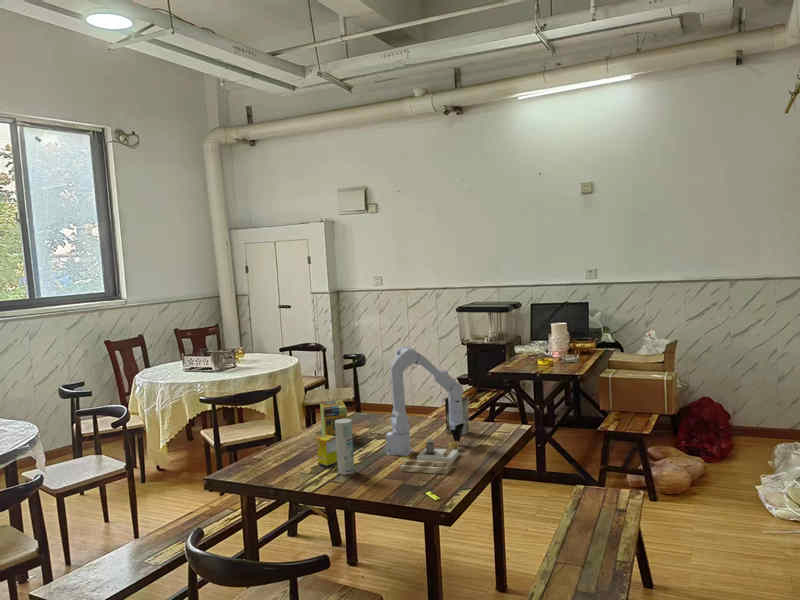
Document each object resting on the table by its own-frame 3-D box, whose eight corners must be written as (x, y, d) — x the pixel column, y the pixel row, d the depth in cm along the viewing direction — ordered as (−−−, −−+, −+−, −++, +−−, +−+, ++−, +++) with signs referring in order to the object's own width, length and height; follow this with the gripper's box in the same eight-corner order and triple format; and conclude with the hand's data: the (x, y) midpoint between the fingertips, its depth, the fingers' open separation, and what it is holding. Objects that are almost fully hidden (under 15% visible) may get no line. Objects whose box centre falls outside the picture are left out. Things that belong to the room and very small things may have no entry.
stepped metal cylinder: (425, 458, 245) (424, 440, 245) (428, 456, 248) (427, 438, 248) (433, 459, 244) (432, 440, 244) (435, 456, 247) (434, 438, 247)
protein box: (325, 443, 275) (323, 409, 273) (321, 434, 290) (319, 401, 288) (348, 440, 277) (346, 406, 276) (343, 431, 292) (341, 399, 291)
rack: (400, 472, 233) (400, 465, 233) (406, 465, 240) (406, 459, 239) (446, 475, 227) (446, 468, 227) (451, 468, 234) (451, 462, 234)
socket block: (417, 463, 242) (416, 456, 242) (425, 454, 253) (424, 448, 253) (451, 465, 238) (451, 458, 238) (458, 455, 248) (458, 449, 248)
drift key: (442, 457, 246) (442, 448, 246) (449, 449, 256) (449, 440, 256) (451, 458, 245) (451, 449, 244) (458, 449, 255) (457, 440, 255)
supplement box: (329, 460, 251) (327, 434, 250) (338, 463, 247) (337, 436, 246) (317, 464, 247) (316, 437, 246) (327, 467, 243) (325, 440, 242)
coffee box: (445, 433, 280) (443, 398, 279) (452, 429, 286) (450, 395, 284) (463, 435, 275) (462, 400, 274) (469, 431, 281) (468, 397, 280)
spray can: (348, 475, 232) (345, 423, 231) (334, 473, 236) (331, 422, 234) (358, 470, 238) (354, 419, 237) (344, 468, 241) (341, 417, 240)
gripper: (460, 414, 252) (462, 447, 253) (468, 406, 265) (470, 436, 266) (444, 414, 254) (445, 446, 255) (452, 405, 268) (454, 436, 269)
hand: (457, 441), depth 261 cm, fingers closed
